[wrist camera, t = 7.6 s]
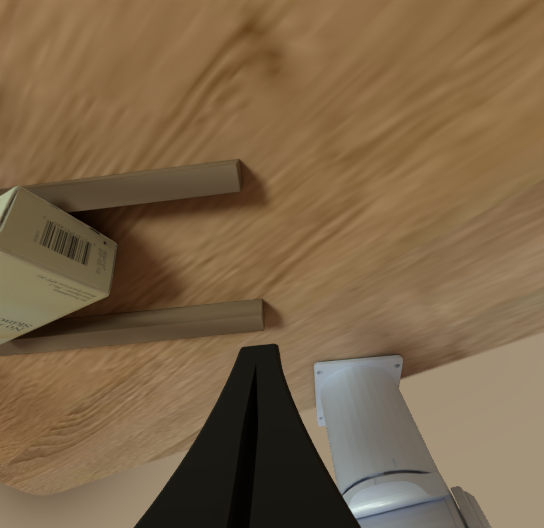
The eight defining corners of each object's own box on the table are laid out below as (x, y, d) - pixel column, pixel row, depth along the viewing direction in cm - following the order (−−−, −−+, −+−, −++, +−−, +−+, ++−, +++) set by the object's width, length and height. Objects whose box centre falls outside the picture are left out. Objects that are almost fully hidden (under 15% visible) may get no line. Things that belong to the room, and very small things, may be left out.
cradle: (264, 313, 22) (264, 330, 20) (-7, 340, 23) (-30, 359, 21) (239, 159, 16) (235, 164, 15) (-121, 204, 17) (-165, 214, 16)
